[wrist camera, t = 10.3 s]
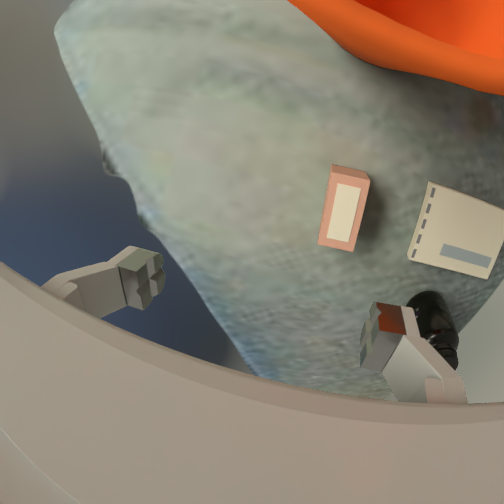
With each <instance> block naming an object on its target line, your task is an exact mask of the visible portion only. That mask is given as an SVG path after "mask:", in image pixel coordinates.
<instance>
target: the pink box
mask: <svg viewBox="0 0 504 504" xmlns="http://www.w3.org/2000/svg"><path fill="white" fill-rule="evenodd" d="M369 185H370V179H369V177H368V176H367V174H366V173H365V172H363V171H359V170H355V169H350V168H346V167H341V166H337V165H332V166H331V171H330V177H329V183H328V189H327V194H326V199H325V205H324V210H323V215H322V220H321V225H320V231H319V238H318V244H319V245H324V246H328V247H333V248H337V249H342V250H347V251H351V252H353V250H354V246H355V243H356V239H357V235H358V232H359V228H360V224H361V220H362V216H363V212H364V207H365V203H366V199H367V195H368V190H369Z"/></svg>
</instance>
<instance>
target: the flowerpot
mask: <svg viewBox="0 0 504 504" xmlns="http://www.w3.org/2000/svg"><path fill="white" fill-rule="evenodd" d="M288 1H289V2H290V3H292V4H293V5H294V6H295V7H297V8H298V9H299V10H301V11H302V12H303V13H304V14H305V15H307V16H308V17H309V18H310V19H311V20H313V21H314V22H315V23H316V24H317V25H318V26H319V27H321V28H322V29H323V30H324V31H325V32H326V33H327V34H328V35H329V36H330V37H332V38H333V39H334V40H335V41H336V42H337V43H338V44H339V45H340V46H341V47H342V48H344V49H345V50H347V51H348V52H349V53H351V54H352V55H354V56H355V57H357V58H359V59H361V60H363V61H365V62H367V63H370V64H373V65H376V66H379V67H383V68H388V69H393V70H399V71H404V72H410V73H415V74H420V75H424V76H429V77H433V78H437V79H441V80H445V81H448V82H452V83H455V84H459V85H462V86H465V87H468V88H472V89H475V90H477V91H481V92H486V93H491V94H496V95H501V96H504V0H288Z"/></svg>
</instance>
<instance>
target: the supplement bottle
mask: <svg viewBox="0 0 504 504" xmlns="http://www.w3.org/2000/svg"><path fill="white" fill-rule="evenodd" d="M406 307H411V308H412V309H413V311H414V314H415V318H416V322H417V325H418V329H419V333H420V337H421V338H424V339H425V340H426V341H427V342H428V343H429V344H430V345H431V346H432V347H433V348H434V349H435V350H436V351H437V352H438V353H439V354H440V355H441V356H442V357H443V359H444V360H445V361H446V362H447V363H448V364H449V365H450V366H451V367H452V368H453V369H454V370H456V368H457V366H458V358H457V352H456V350H457V347H458V343H459V337H458V334H457V331H456V328H455V325H454V323H453V320H452V318H451V315H450V313H449V310H448V308H447V305H446V303H445V301H444V299H443V297H442V296H441V295H440V294H438V293H437V292H433V291H425V292H421V293H419V294H417V295H415V296H414V297H413V298H412V299H411V300H410V301H409V302H408V303H407V305H406Z"/></svg>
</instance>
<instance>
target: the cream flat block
mask: <svg viewBox="0 0 504 504" xmlns="http://www.w3.org/2000/svg"><path fill="white" fill-rule="evenodd" d="M503 241H504V209H502V208H499V207H497V206H495V205H492V204H490V203H488V202H485V201H483V200H480V199H478V198H475V197H473V196H470V195H467V194H465V193H462V192H459V191H457V190H454V189H451V188H448V187H445V186H442V185H440V184H437V183H434V182H430V181H429V182H428V186H427V190H426V194H425V197H424V201H423V205H422V208H421V212H420V215H419V219H418V222H417V225H416V228H415V232H414V235H413V238H412V241H411V244H410V247H409V250H408V252H407V256H408V258H409V260H413V261H417V262H421V263H425V264H429V265H433V266H437V267H441V268H445V269H449V270H453V271H457V272H461V273H464V274H468V275H472V276H476V277H480V278H483V279H488V277H489V274H490V272H491V270H492V268H493V266H494V263H495V261H496V259H497V256H498V254H499V251H500V249H501V246H502V244H503Z"/></svg>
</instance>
